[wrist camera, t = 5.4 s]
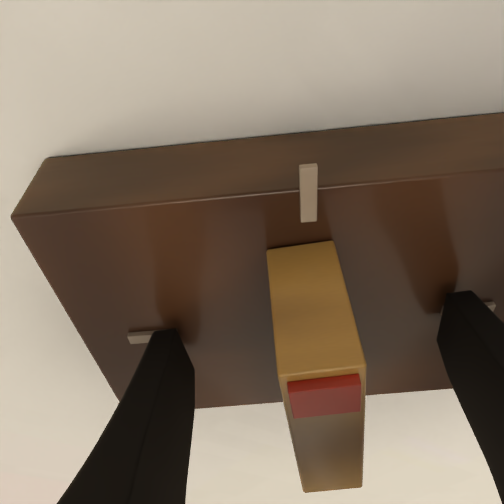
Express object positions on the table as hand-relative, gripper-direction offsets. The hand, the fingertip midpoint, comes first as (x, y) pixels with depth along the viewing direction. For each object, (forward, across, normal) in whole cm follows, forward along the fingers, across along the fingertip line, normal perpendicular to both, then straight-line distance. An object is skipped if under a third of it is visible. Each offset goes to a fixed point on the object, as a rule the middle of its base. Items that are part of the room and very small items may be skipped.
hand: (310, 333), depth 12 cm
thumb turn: (0, 0, 0) cm, 0 cm away
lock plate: (+3, 0, 0) cm, 3 cm away
